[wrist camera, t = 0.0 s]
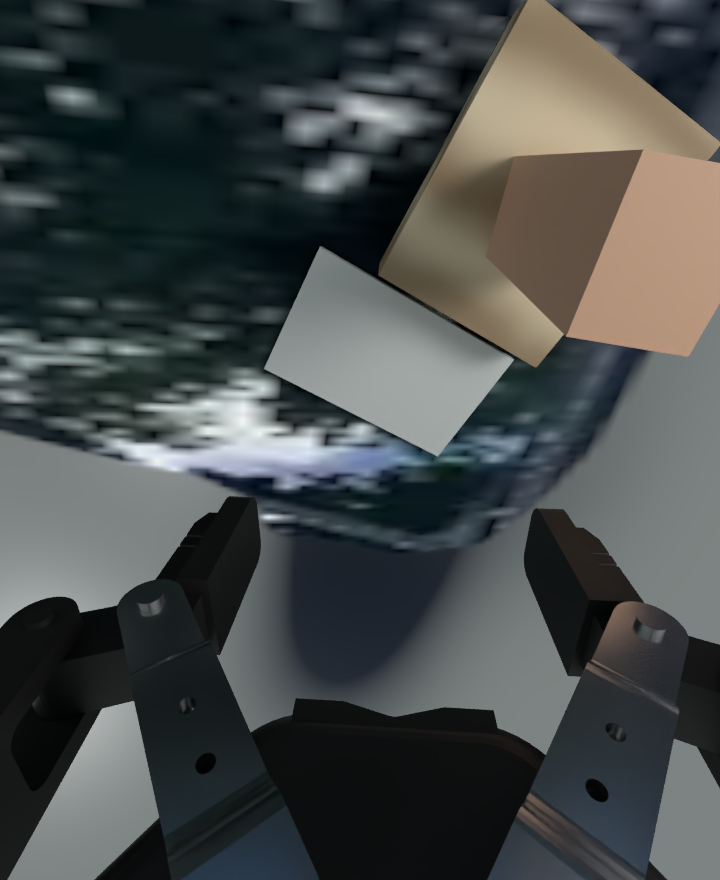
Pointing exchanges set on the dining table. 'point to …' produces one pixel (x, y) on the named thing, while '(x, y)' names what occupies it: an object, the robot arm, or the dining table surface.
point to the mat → (383, 355)
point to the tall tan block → (614, 244)
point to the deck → (490, 160)
